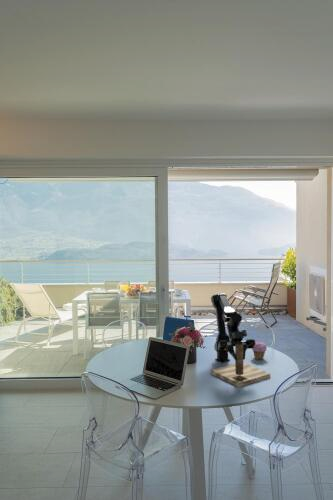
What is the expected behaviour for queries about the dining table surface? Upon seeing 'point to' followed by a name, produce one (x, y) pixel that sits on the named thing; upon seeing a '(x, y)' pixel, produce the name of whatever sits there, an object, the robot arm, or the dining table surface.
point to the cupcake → (259, 350)
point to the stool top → (248, 375)
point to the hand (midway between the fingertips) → (240, 359)
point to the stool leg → (239, 359)
